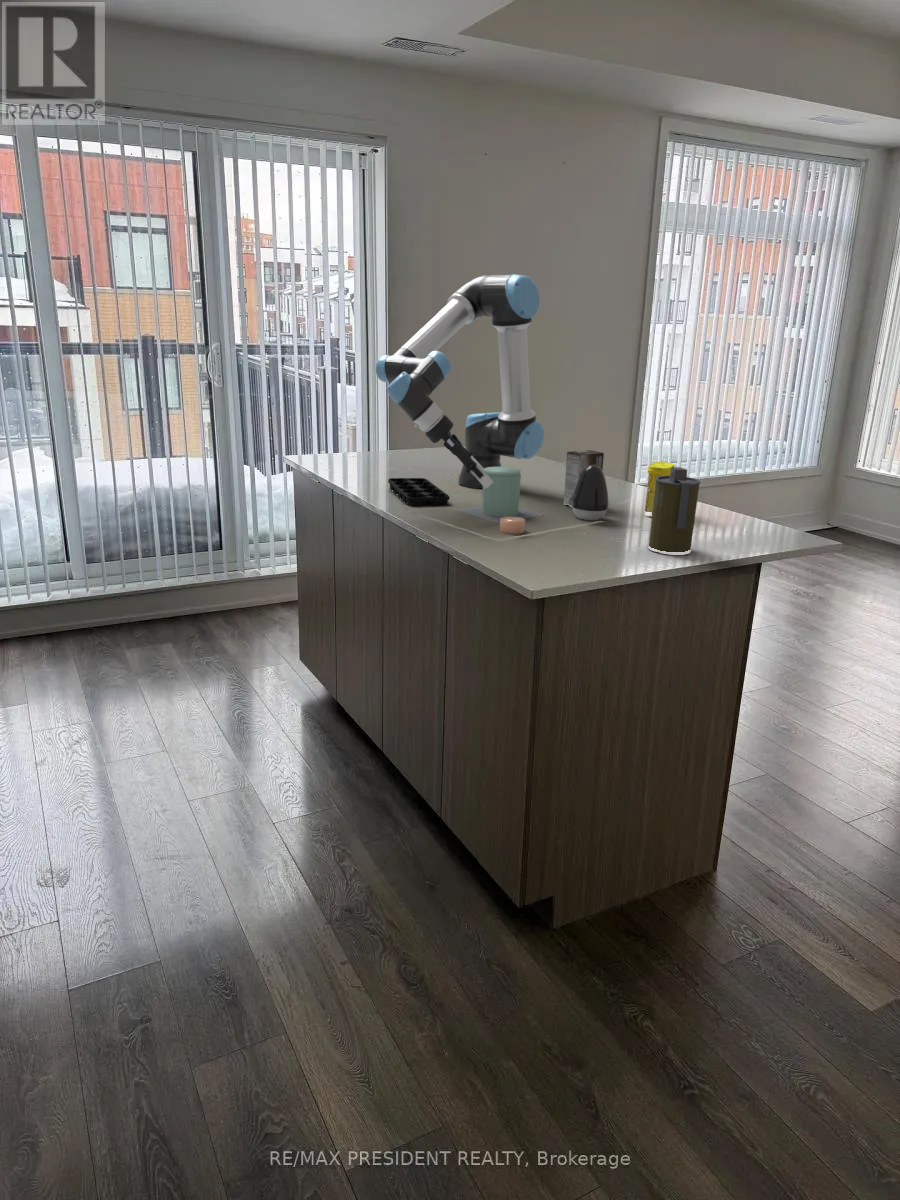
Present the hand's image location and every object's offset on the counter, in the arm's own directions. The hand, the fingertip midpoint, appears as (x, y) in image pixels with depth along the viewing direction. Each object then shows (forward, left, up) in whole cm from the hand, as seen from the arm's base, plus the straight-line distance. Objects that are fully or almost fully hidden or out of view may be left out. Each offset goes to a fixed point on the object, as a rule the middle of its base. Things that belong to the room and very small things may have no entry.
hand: (486, 480), depth 230 cm
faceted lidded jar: (-4, +2, -9) cm, 10 cm away
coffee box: (-33, +6, -10) cm, 35 cm away
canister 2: (-15, +52, -10) cm, 55 cm away
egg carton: (+3, -28, -10) cm, 30 cm away
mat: (-4, +2, -10) cm, 11 cm away
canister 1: (-44, +25, -10) cm, 51 cm away
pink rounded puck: (+7, +19, -10) cm, 22 cm away
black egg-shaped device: (-22, +19, -10) cm, 31 cm away
